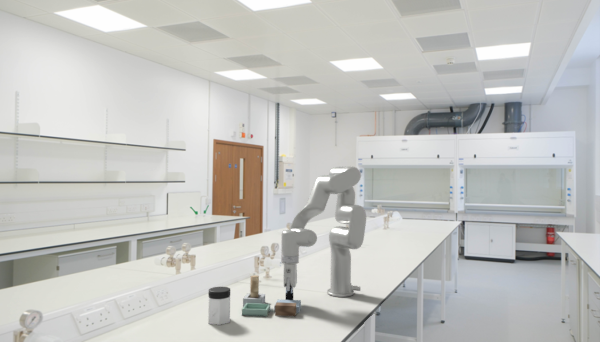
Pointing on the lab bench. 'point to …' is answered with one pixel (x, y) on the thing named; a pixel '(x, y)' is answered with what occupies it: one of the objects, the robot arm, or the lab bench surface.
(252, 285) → the dowel
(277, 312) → the block
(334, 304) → the lab bench surface
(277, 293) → the lab bench surface
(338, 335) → the lab bench surface
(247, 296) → the socket block
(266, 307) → the tray
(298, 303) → the board
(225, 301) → the jar
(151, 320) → the lab bench surface
